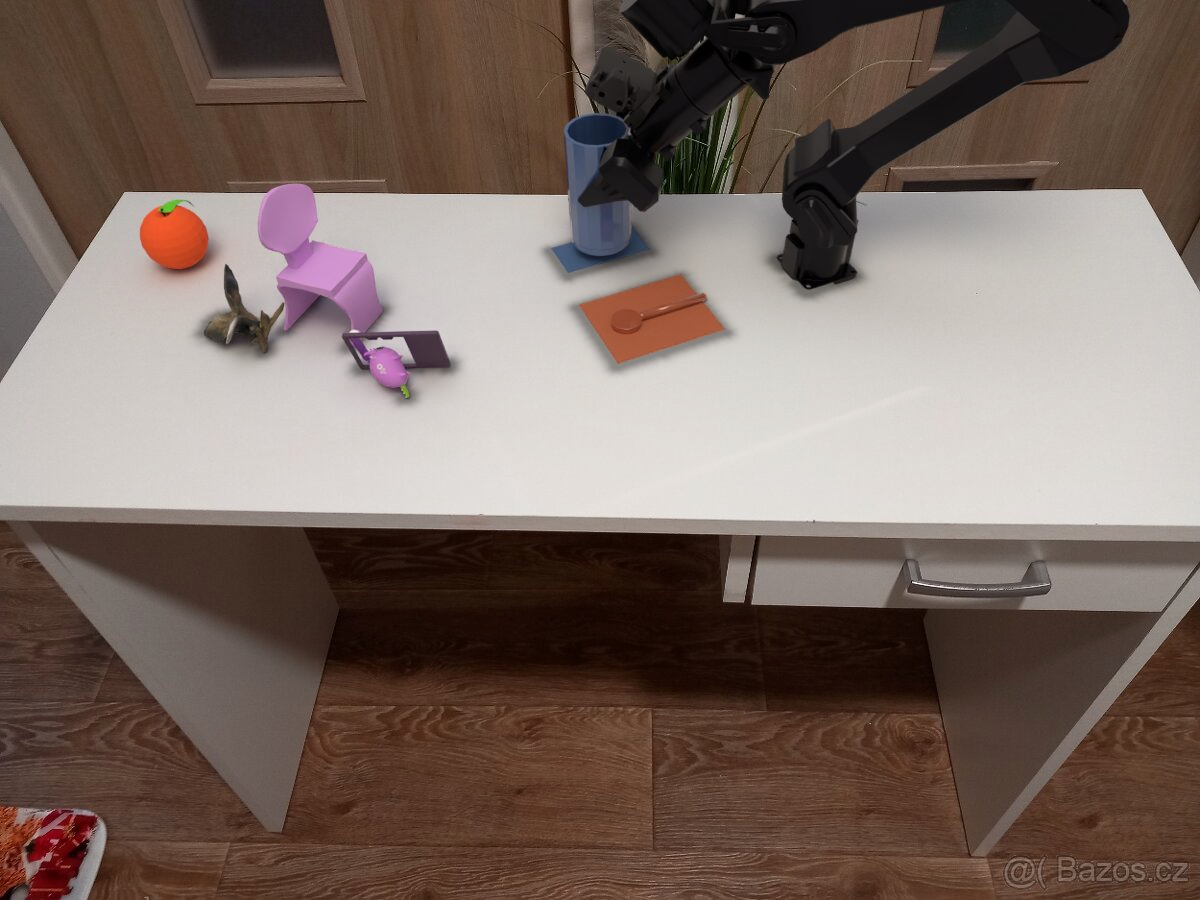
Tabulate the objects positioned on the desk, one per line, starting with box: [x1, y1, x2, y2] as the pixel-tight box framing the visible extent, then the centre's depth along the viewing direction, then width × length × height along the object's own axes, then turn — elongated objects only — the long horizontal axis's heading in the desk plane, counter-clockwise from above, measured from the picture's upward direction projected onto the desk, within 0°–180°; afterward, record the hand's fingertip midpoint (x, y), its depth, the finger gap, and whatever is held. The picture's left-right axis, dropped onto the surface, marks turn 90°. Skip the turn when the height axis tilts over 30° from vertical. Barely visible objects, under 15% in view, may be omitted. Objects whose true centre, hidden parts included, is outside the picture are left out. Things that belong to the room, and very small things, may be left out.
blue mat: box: [551, 225, 651, 274], centre depth 101 cm, size 10×5×1 cm, turn 114°
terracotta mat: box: [578, 274, 726, 365], centre depth 93 cm, size 12×10×1 cm
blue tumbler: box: [563, 112, 632, 256], centre depth 95 cm, size 7×7×13 cm
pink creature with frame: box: [341, 329, 451, 399], centre depth 86 cm, size 7×5×9 cm
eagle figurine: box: [203, 263, 286, 354], centre depth 92 cm, size 8×7×9 cm
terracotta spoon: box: [611, 292, 708, 334], centre depth 93 cm, size 11×3×1 cm, turn 114°
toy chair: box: [257, 183, 384, 347], centre depth 89 cm, size 8×9×15 cm
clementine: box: [139, 199, 210, 270], centre depth 100 cm, size 8×7×7 cm
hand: (586, 184), depth 95 cm, fingers closed on blue tumbler, 6 cm apart
